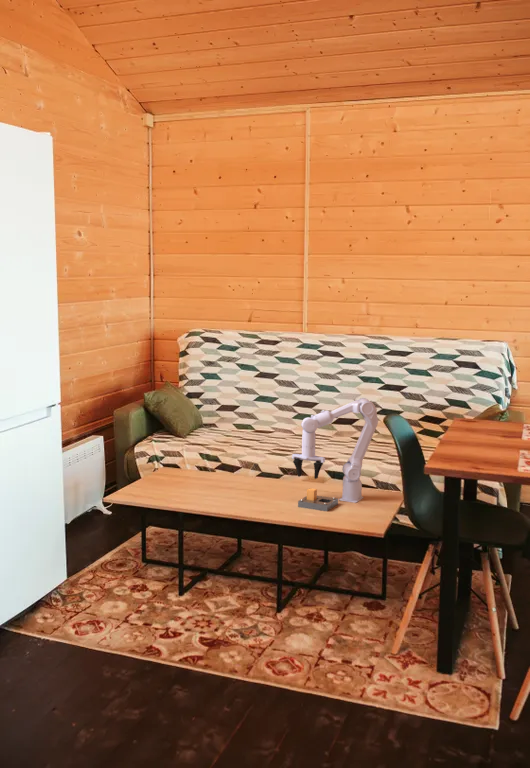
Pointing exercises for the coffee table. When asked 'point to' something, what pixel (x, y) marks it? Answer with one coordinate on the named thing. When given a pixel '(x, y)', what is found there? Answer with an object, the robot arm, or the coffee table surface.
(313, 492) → the orange rectangular block
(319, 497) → the grey mounting plate
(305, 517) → the coffee table surface
